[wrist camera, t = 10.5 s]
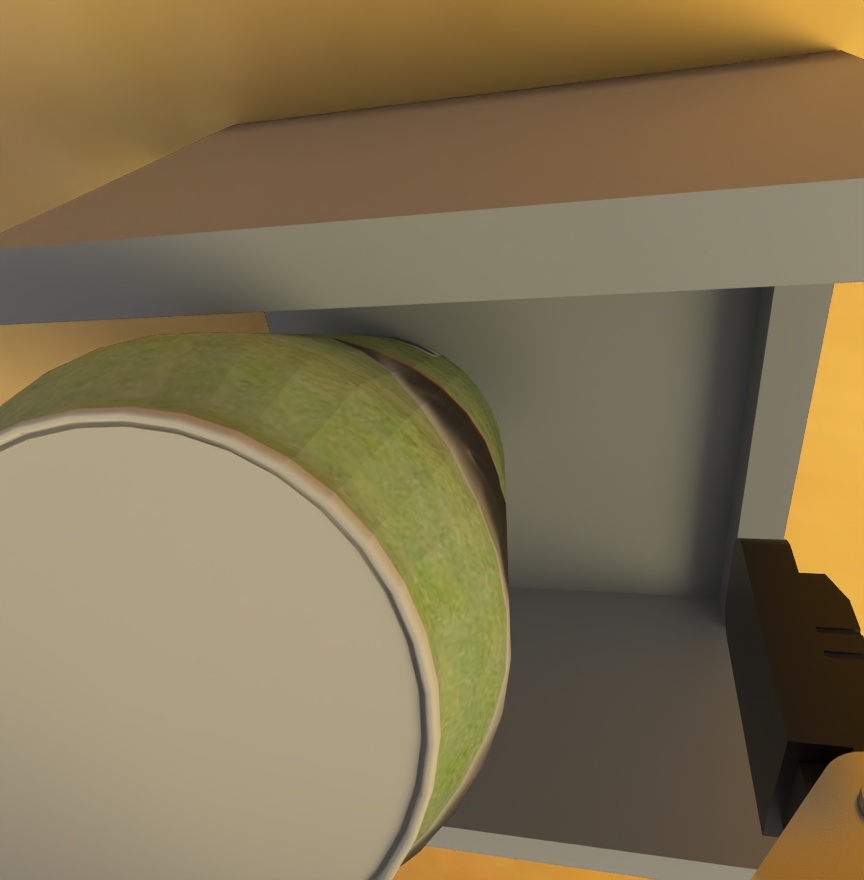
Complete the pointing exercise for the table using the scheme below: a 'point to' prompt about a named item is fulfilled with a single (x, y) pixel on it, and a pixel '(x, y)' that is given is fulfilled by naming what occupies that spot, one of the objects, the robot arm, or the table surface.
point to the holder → (550, 381)
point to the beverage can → (246, 608)
